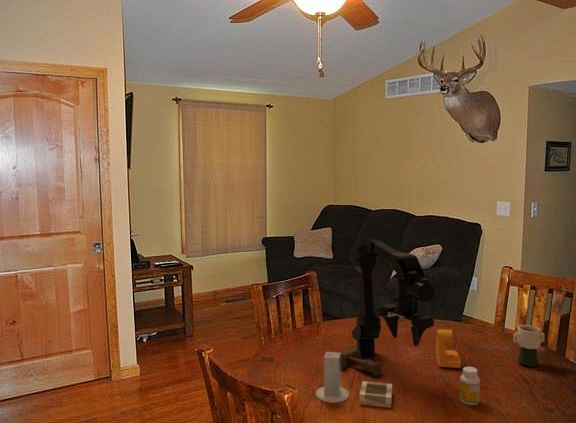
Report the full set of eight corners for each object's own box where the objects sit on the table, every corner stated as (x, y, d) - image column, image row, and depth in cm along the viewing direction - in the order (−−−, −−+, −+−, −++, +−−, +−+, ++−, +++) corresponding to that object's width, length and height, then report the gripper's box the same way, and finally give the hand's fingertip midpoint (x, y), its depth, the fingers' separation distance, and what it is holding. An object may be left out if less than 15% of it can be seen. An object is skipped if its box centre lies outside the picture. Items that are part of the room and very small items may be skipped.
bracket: (461, 370, 162) (462, 336, 161) (439, 368, 163) (439, 334, 162) (456, 358, 173) (457, 325, 172) (435, 356, 174) (436, 324, 173)
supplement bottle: (456, 397, 143) (457, 365, 142) (473, 396, 143) (474, 365, 143) (464, 406, 138) (465, 373, 137) (482, 405, 138) (483, 372, 137)
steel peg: (326, 389, 148) (326, 351, 147) (341, 390, 147) (341, 352, 146) (324, 395, 144) (323, 357, 143) (338, 397, 142) (338, 358, 141)
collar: (362, 390, 148) (362, 381, 148) (392, 393, 146) (392, 384, 146) (359, 404, 139) (359, 394, 139) (390, 407, 137) (391, 397, 137)
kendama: (369, 382, 155) (324, 363, 169) (387, 374, 161) (341, 356, 176) (370, 365, 154) (324, 347, 169) (387, 357, 161) (342, 340, 175)
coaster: (309, 392, 147) (309, 390, 147) (335, 384, 152) (335, 383, 152) (329, 406, 138) (329, 404, 138) (355, 397, 144) (355, 395, 144)
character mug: (537, 360, 170) (538, 324, 169) (549, 368, 163) (550, 331, 161) (507, 360, 169) (508, 325, 168) (517, 369, 162) (519, 332, 161)
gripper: (446, 296, 148) (445, 345, 149) (402, 285, 164) (402, 329, 165) (421, 302, 142) (420, 353, 144) (378, 289, 158) (378, 335, 159)
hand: (405, 341), depth 153 cm, fingers open, 9 cm apart
